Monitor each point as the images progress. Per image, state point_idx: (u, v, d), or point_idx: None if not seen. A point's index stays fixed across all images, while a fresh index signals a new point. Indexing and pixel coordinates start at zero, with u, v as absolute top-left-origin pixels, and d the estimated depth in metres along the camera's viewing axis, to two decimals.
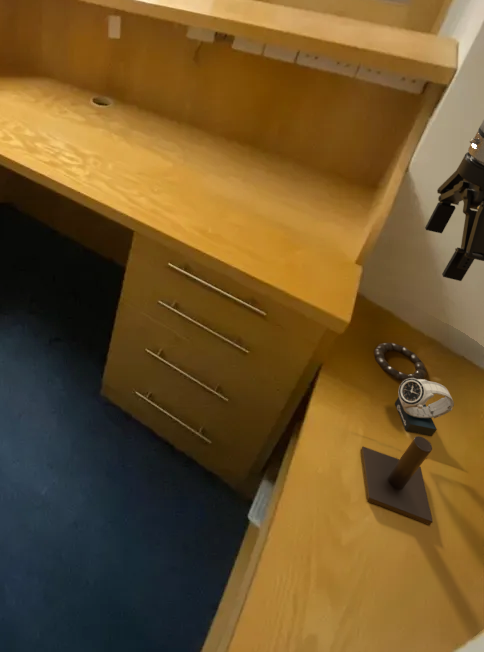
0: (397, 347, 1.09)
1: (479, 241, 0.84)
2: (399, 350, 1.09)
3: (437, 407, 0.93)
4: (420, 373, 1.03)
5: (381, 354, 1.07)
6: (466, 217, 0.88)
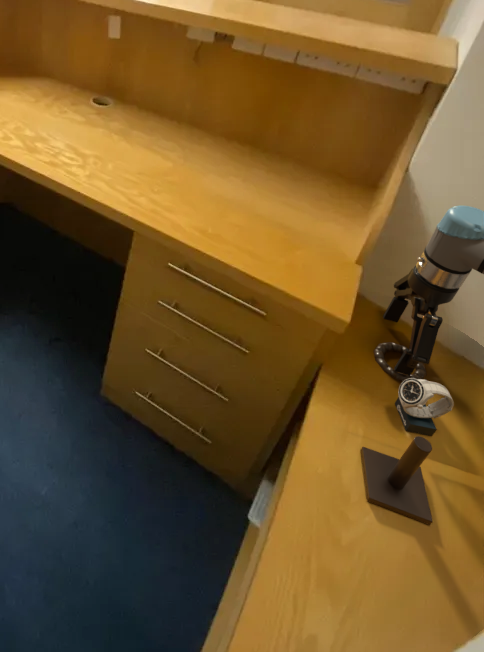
0: (397, 346, 1.09)
1: (423, 347, 0.97)
2: (399, 350, 1.08)
3: (437, 407, 0.93)
4: (420, 373, 1.03)
5: (381, 355, 1.07)
6: (414, 322, 1.01)
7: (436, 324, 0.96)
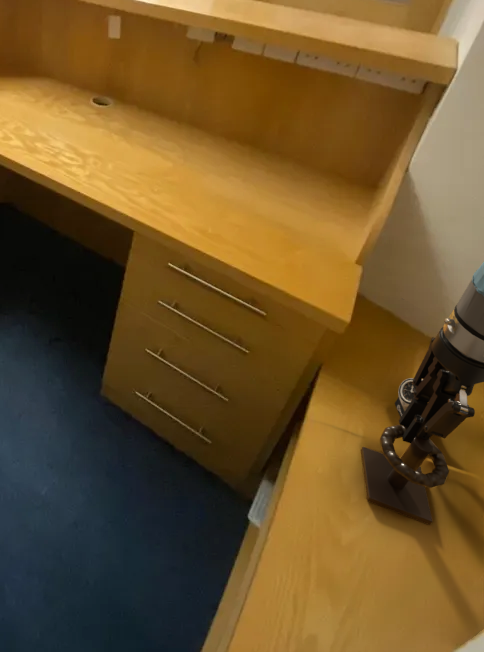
0: None
1: (440, 427, 0.76)
2: None
3: None
4: (441, 471, 0.80)
5: (390, 445, 0.83)
6: (434, 394, 0.78)
7: (464, 415, 0.72)
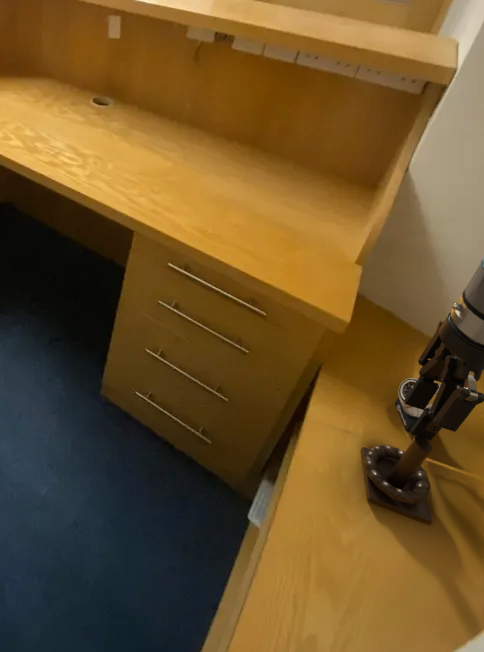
0: (391, 450, 0.89)
1: (450, 418, 0.74)
2: (394, 455, 0.89)
3: None
4: (422, 487, 0.83)
5: (372, 464, 0.87)
6: (443, 383, 0.76)
7: (474, 401, 0.71)
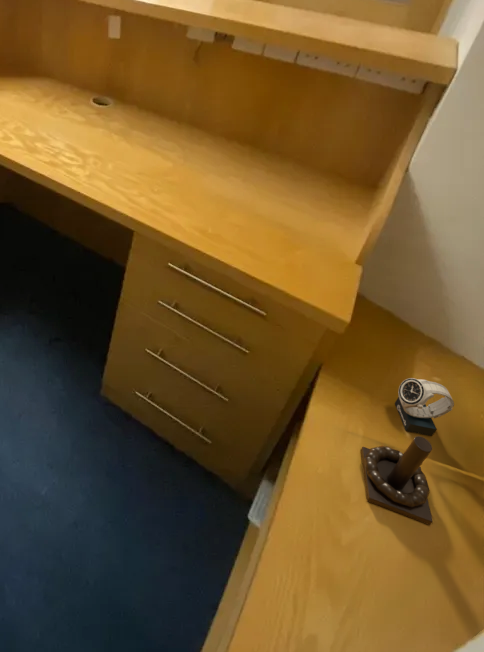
0: (392, 452, 0.89)
1: None
2: (395, 457, 0.89)
3: (437, 407, 0.93)
4: (422, 491, 0.84)
5: (374, 465, 0.87)
6: None
7: None
